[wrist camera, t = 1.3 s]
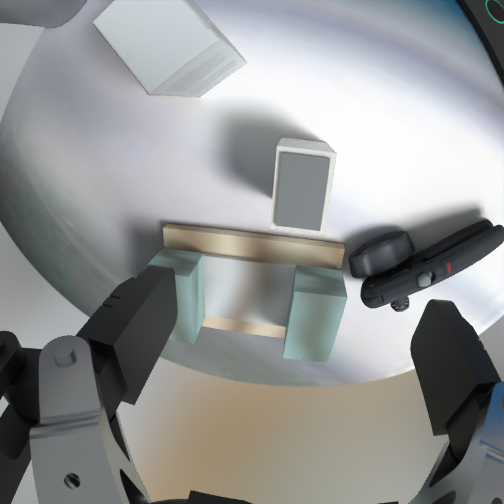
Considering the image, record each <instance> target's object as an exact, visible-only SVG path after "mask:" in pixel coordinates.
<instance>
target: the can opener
mask: <svg viewBox="0 0 504 504" xmlns="http://www.w3.org/2000/svg"><path fill="white" fill-rule="evenodd" d="M503 241H504V227H503V226H502V225H496V226H494V227H493V224H492V223H491V222H490V221H489V220H484V221H481V222H479V223H476V224H474V225H471V226H469V227H467V228H465V229H463V230H461V231H459V232H457V233H455V234H453V235H451V236H450V237H448V238H446V239H444V240H442V241H441V242H439V243H437V244H435V245H433V246H432V247H430V248H428V249H426V250H424V251H421V252H419V253H417V254H414V255H412V254H413V253H414V251H415V246H414V244H413V242H412V241H411V239H410V237H409V235H408V233H407V232H406V231H400V232H394V233H389V234H386V235H383V236H380V237H377V238H375V239H373V240H371V241H369V242H367V243H366V244H364V245H363V246H361V247H360V248H358V249H357V250H355V251H354V252H353V253H352V254H351V255H350V256H349V264H350V270H351V274H352V277H354V278H364V277H367V278H366V279H365V280H364V282H363V284H362V287H361V300H362V302H363V303H364V305H366V306H367V307H369V308H378V307H381V306H384V305H386V304H389V303H391V307H392V308H393V309H394V310H395V311H397V312H403V311H405V310H406V309H407V308H408V307H409V298H408V295H411V294H413V293H416V292H418V291H421V290H423V289H425V288H428V287H430V286H432V285H435V284H437V283H439V282H441V281H443V280H445V279H447V278H449V277H451V276H453V275H455V274H457V273H459V272H460V271H462V270H464V269H466V268H468V267H469V266H471V265H473V264H474V263H476V262H477V261H479V260H481V259H482V258H484V257H485V256H487V255H488V254H489V253H491V252H492V251H493V250H495V249H496V248H497V247H498V246H500V245H501V244H502V243H503ZM411 255H412V256H411Z"/></svg>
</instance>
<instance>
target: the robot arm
mask: <svg viewBox="0 0 504 504" xmlns="http://www.w3.org/2000/svg"><path fill="white" fill-rule="evenodd" d="M85 2H86V0H0V23H11V24H24V25H32V26H42V27H48V28H53V27H58V26H60V25H62V24H64V23H66V22H67V21H68V20H70V19H71V18H72V17H73V16H74V15H75V14H76V13H77V12H78V11H79V10H80V9H81V7H82V6H83V5H84V3H85ZM177 315H178V305H177V294H176V282H175V272H174V269H173V268H171V267H165V266H158V265H152V264H149V265H147V266H146V268H145V269H144V270H143V271H142V272H141V273H140V275H139V276H138V277H137V278H133V277H132V278H130V279H128V280H126V281H125V282H123V283H121V284H120V285H118V286H117V287H116V289H115V290H114V291H113V292H112V293H111V294H110V297H108V298H107V299H106V300H105V301H104V302H103V305H102V306H100V307H99V308H98V309H97V311H96V312H95V313H94V314H93V315H92V316H91V318H90V319H89V320H88V321H87V323H86V324H85V325H84V326H83V327H82V328H81V330H80V331H79V332H78V333H77V335H76V336H72V335H70V336H69V335H67V336H61V337H58V338H56V339H54V340H52V341H50V342H49V343H48V344H47V345H46V346H45V347H44V348H43V349H33V348H22V347H21V345H20V343H19V341H18V339H17V337H16V336H15V335H14V334H13V333H12V332H9V331H0V399H1V398H2V396H4V397H5V399H6V400H7V402H8V403H9V405H8V406H7V408H6V409H5V411H4V412H3V414H2V416H1V417H0V504H11V502H12V500H13V497H14V495H15V493H16V491H17V488H18V486H19V484H20V482H21V480H22V477H23V475H24V473H25V471H26V469H27V467H28V465H29V463H30V460H31V459H32V467H33V474H34V480H35V486H36V491H37V497H38V502H39V504H252V503H249V502H247V501H244V500H237V499H231V498H226V497H220V496H215V495H210V494H205V493H201V492H196V491H192V490H191V491H190V494H189V498H188V499H170V500H163V501H156V502H151V499H150V497H149V495H148V493H147V490H146V488H145V486H144V484H143V482H142V480H141V478H140V476H139V474H138V472H137V470H136V468H135V465H134V462H133V460H132V457H131V454H130V451H129V448H128V445H127V442H126V439H125V436H124V433H123V429H122V426H121V422H120V419H119V415H118V412H117V408H118V406H119V404H120V402H121V401H124V402H126V403H129V404H132V405H135V403H136V401H137V399H138V397H139V395H140V393H141V391H142V389H143V387H144V385H145V383H146V381H147V379H148V377H149V375H150V373H151V371H152V369H153V367H154V366H155V364H156V362H157V360H158V358H159V356H160V354H161V352H162V350H163V348H164V346H165V344H166V342H167V340H168V339H169V337H170V335H171V333H172V331H173V329H174V327H175V324H176V321H177ZM410 350H411V356H412V359H413V362H414V366H415V369H416V372H417V375H418V379H419V382H420V385H421V389H422V392H423V396H424V399H425V403H426V407H427V411H428V414H429V418H430V422H431V426H432V431H433V435H434V436H437V435H445V434H448V436H449V440H448V441H447V442H446V443H445V444H444V446H443V448H442V450H441V452H440V454H439V456H438V458H437V460H436V462H435V464H434V466H433V468H432V470H431V472H430V474H429V476H428V477H427V479H426V481H425V483H424V484H423V486H422V488H421V490H420V491H419V493H418V494H417V495H416V496H415V497H414V498H413V499H412V500H411V501H410V502H409V503H408V504H504V382H503V381H501V379H500V377H499V375H498V373H497V371H496V369H495V367H494V365H493V363H492V361H491V359H490V357H489V355H488V353H487V351H486V350H484V346H483V344H482V342H481V341H479V337H478V335H477V333H476V332H475V330H474V328H473V327H472V326H471V325H470V324H469V323H468V322H467V321H466V320H465V319H464V318H463V317H462V316H461V314H460V312H459V311H458V309H457V307H456V306H455V304H454V303H453V302H452V301H447V300H435V299H432V300H430V301H429V302H428V303H427V305H426V308H425V310H424V312H423V315H422V317H421V319H420V321H419V324H418V326H417V328H416V330H415V332H414V335H413V337H412V340H411V347H410ZM380 504H398V502H389V503H380Z"/></svg>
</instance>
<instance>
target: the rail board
mask: <svg viewBox="0 0 504 504" xmlns="http://www.w3.org/2000/svg"><path fill="white" fill-rule="evenodd" d="M163 237H164V248H162V249H161V250H160V251H159V252H158V253H157V254H156V255H155V256H154V258H153V259H152V260H151V261H150V262H149V263H148V264H147V265H149V264H152V265H158V266H165V267H171V268H173V269H174V272H175V282H176V294H177V305H178V315H177V321H176V324H175V327H174V329H173V331H172V333H171V335H170V337H169V339H172V340H176V341H181V342H186V343H191V344H194V342H195V339H196V337H197V335H198V333H199V330H200V328H201V326H204V327H210V328H216V329H222V330H229V331H235V332H242V333H248V334H255V335H263V336H270V337H278V338H285V340H284V351H283V358H288V359H297V360H307V361H317V362H328V360H329V357H330V354H331V351H332V347H333V344H334V341H335V338H336V335H337V331H338V328H339V325H340V321H341V318H342V315H343V311H344V308H345V304H346V300H347V293H346V288H345V283H344V279H343V274H342V271H341V266H342V261H343V257H344V252H345V247H344V244H340V243H333V242H325V241H317V240H309V239H301V238H292V237H284V236H276V235H267V234H259V233H250V232H241V231H232V230H223V229H214V228H205V227H196V226H186V225H177V224H166V225H165V226H164V227H163ZM147 265H146V266H147ZM145 268H146V267H145ZM145 268H144V269H145ZM144 269H143V270H144Z"/></svg>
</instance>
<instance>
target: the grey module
mask: <svg viewBox="0 0 504 504" xmlns="http://www.w3.org/2000/svg"><path fill="white" fill-rule="evenodd" d="M336 154H337V153H336V152H335V151H334V150H333V149H332V148H331V147H330V146H329V144H328V143H325V142H317V141H310V140H301V139H293V138H283V137H282V138H281V140H280V142H279V143H278V145H277V151H276V163H275V175H274V187H273V198H272V210H271V221H270V229H277V230H285V231H294V232H302V233H310V234H318V235H325V229H326V223H327V217H328V211H329V204H330V198H331V191H332V184H333V177H334V169H335V162H336Z"/></svg>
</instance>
